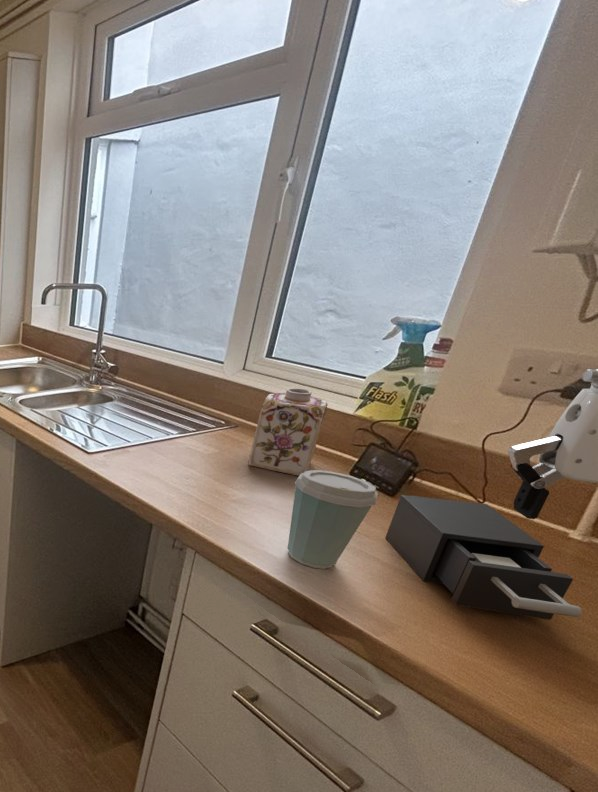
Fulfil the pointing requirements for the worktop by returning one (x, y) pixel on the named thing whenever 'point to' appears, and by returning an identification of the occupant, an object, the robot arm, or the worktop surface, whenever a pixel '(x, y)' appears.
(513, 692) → the worktop surface
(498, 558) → the block
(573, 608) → the drawer
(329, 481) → the disposable coffee cup
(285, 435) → the decorative jar
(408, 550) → the black cabinet
